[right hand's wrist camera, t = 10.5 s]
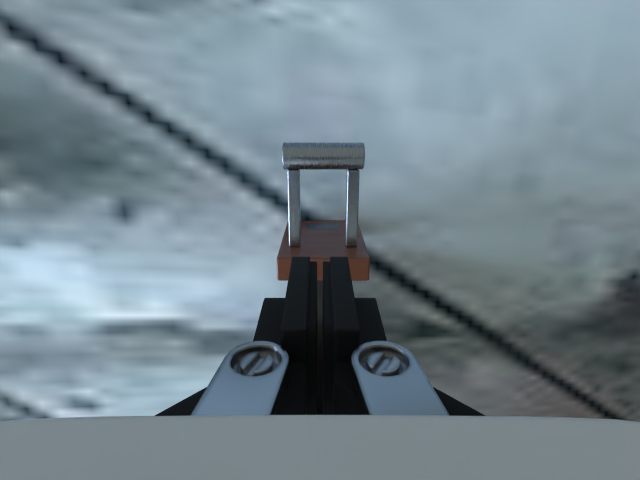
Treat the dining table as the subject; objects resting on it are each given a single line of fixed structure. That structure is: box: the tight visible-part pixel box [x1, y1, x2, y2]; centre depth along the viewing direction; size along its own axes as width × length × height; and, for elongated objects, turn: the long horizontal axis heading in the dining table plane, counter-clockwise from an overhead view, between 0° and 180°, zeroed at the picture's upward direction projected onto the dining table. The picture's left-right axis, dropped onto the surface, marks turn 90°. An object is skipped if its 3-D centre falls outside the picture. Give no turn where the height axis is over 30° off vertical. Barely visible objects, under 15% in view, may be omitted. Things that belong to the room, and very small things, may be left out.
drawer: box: [277, 143, 370, 415], centre depth 25 cm, size 21×5×7 cm, turn 0°
